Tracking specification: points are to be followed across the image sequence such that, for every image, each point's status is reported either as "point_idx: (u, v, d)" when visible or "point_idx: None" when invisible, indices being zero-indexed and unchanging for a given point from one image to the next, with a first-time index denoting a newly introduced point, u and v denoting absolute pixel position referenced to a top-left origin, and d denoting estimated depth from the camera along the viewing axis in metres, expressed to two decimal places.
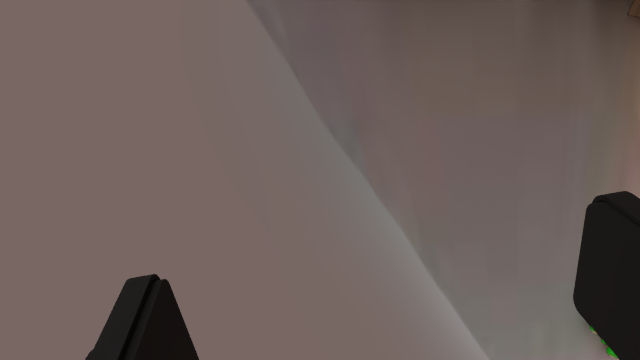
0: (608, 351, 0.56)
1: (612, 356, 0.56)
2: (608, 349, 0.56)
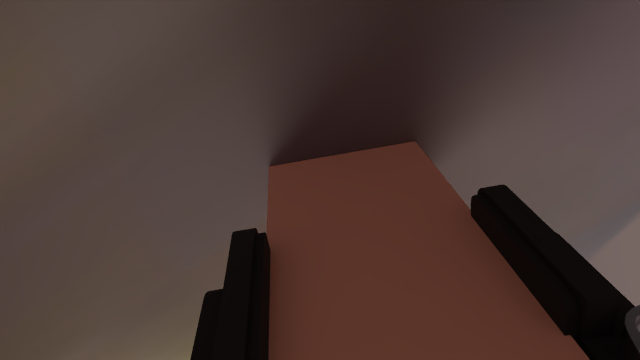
0: None
1: None
2: None
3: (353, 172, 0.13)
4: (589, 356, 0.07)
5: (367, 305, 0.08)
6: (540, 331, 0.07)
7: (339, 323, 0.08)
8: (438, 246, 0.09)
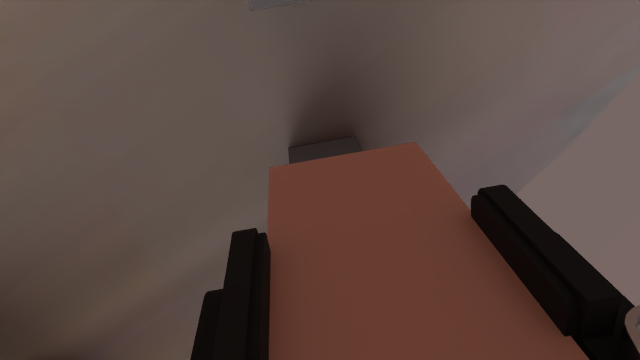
0: None
1: None
2: None
3: (354, 173, 0.13)
4: (589, 356, 0.07)
5: (368, 307, 0.08)
6: (542, 334, 0.07)
7: (341, 326, 0.08)
8: (439, 247, 0.09)
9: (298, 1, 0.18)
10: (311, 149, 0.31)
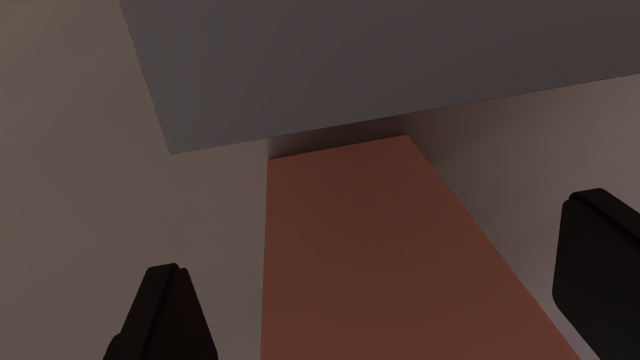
0: None
1: None
2: None
3: (347, 164, 0.14)
4: None
5: (358, 283, 0.09)
6: (513, 303, 0.08)
7: (332, 300, 0.09)
8: (424, 230, 0.10)
9: (372, 114, 0.04)
10: None
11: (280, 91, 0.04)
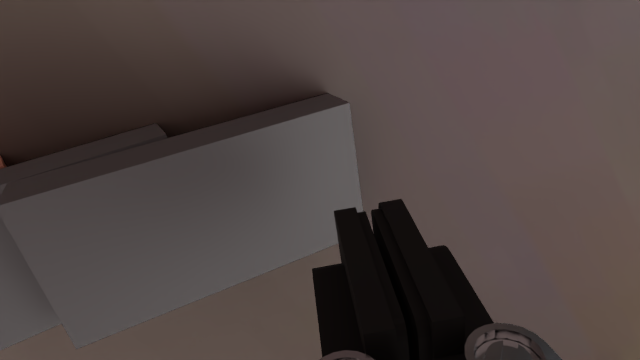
0: None
1: None
2: None
3: None
4: None
5: None
6: None
7: None
8: None
9: None
10: None
11: None
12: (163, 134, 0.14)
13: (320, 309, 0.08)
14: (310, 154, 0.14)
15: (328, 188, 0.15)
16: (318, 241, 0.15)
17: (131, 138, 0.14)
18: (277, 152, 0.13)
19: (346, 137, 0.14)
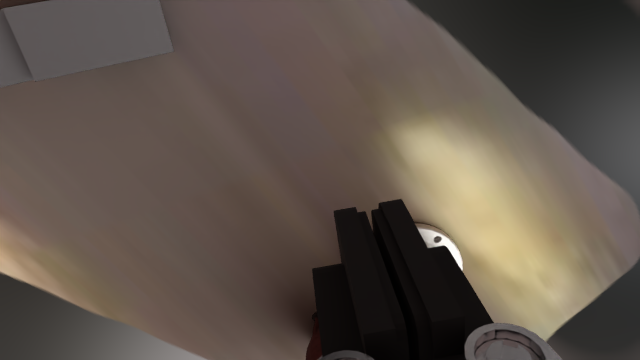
0: None
1: None
2: None
3: None
4: None
5: None
6: None
7: None
8: None
9: None
10: None
11: None
12: None
13: (320, 309, 0.08)
14: (137, 5, 0.32)
15: (149, 24, 0.33)
16: (148, 51, 0.34)
17: None
18: (121, 2, 0.32)
19: (155, 0, 0.33)
